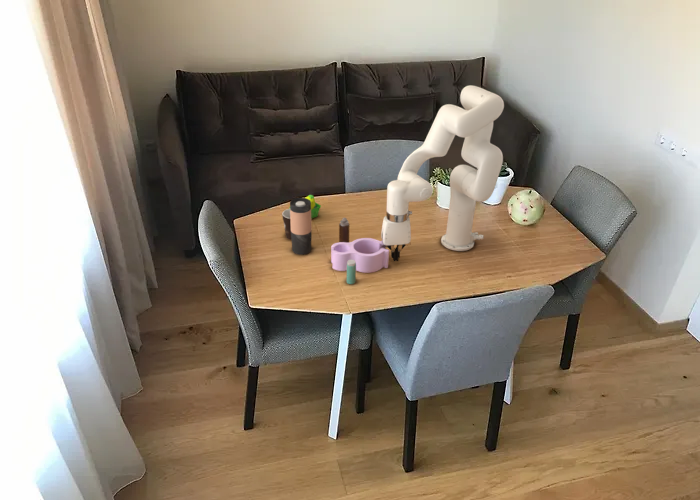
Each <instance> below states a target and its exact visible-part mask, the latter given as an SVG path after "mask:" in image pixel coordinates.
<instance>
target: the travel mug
mask: <svg viewBox="0 0 700 500" xmlns="http://www.w3.org/2000/svg"><path fill="white" fill-rule="evenodd" d="M289 207H290V208H289V209H290V221H291V240H290V241H291V250H292V252H293V254H295V255H299V256H304V255H308V254H309V253H311V251H312V233H313V232H312V231H313V229H312V219H311V201H310V200H309V199H306V198H305V197H295V198H293V199H291V200H290V201H289Z"/></svg>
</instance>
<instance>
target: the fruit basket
mask: <svg viewBox="0 0 700 500" xmlns="http://www.w3.org/2000/svg"><path fill="white" fill-rule="evenodd" d="M304 198H306V199H309V200H310V201H311V220H312V219H314V218H317V217H318V216H319V212H320V209H321V207H322V205H320V204H319V203H317V202H316V200H315V196H314V195H313V194H309V195H307V196H306V197H304ZM288 209H290V206H289V207H288Z"/></svg>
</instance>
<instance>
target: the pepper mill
mask: <svg viewBox="0 0 700 500" xmlns="http://www.w3.org/2000/svg"><path fill="white" fill-rule="evenodd" d="M338 242H346V243H349V242H350V223H349V220H348V219H347V217H342V219H341V220H340V222H339V223H338Z"/></svg>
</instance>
